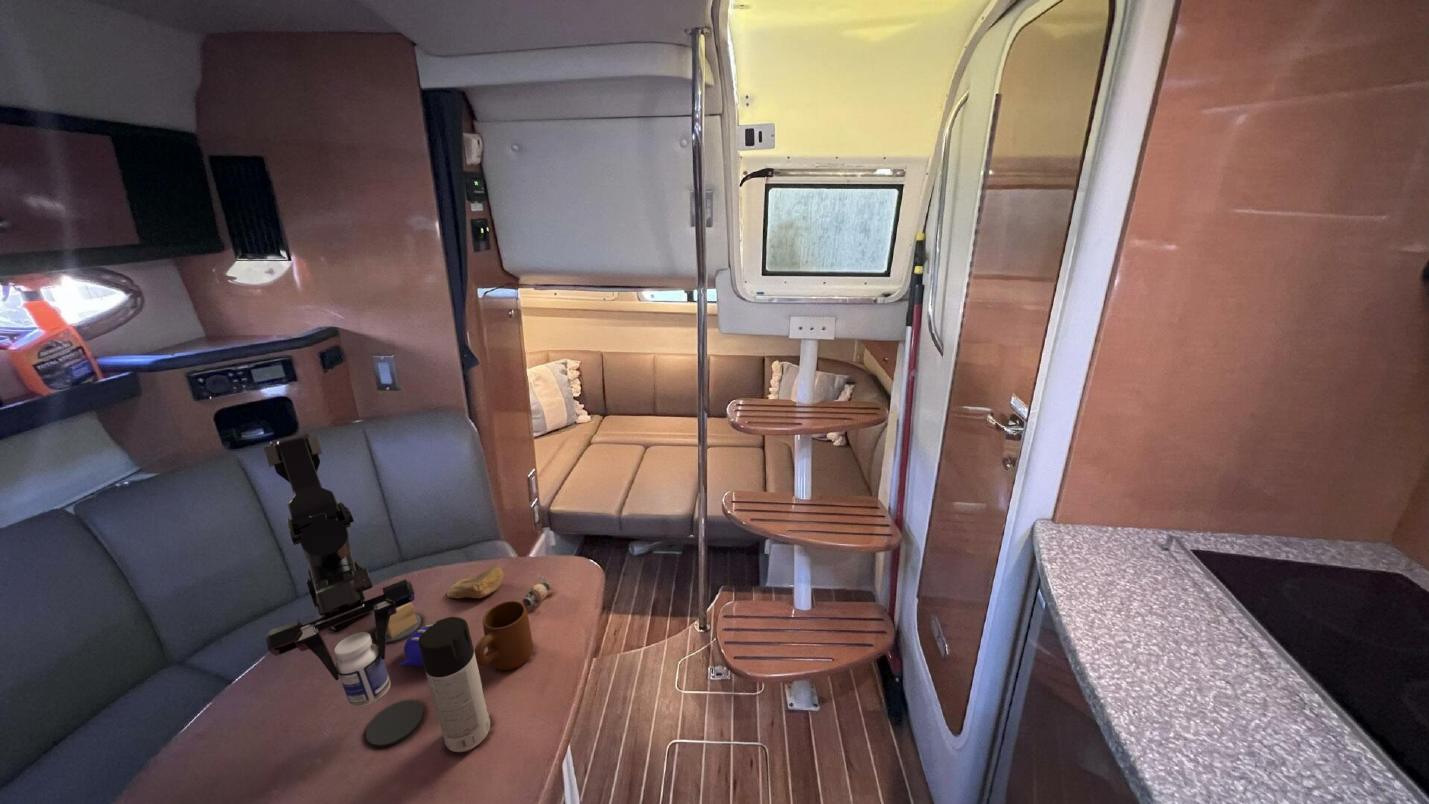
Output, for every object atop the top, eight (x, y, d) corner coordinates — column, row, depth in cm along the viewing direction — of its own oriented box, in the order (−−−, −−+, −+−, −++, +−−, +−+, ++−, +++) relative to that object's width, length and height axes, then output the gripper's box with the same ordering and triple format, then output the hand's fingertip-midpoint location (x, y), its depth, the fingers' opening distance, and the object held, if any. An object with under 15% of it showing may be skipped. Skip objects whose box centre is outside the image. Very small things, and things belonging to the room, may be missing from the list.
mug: (502, 696, 90) (493, 651, 87) (464, 687, 92) (454, 644, 89) (542, 644, 100) (534, 603, 98) (507, 637, 102) (499, 597, 99)
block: (378, 629, 105) (372, 608, 104) (404, 614, 109) (398, 593, 108) (391, 638, 103) (385, 617, 101) (417, 622, 107) (411, 602, 105)
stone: (470, 589, 109) (440, 589, 114) (480, 608, 111) (450, 607, 115) (502, 562, 117) (472, 562, 121) (511, 580, 118) (481, 580, 123)
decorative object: (383, 638, 94) (433, 609, 103) (385, 667, 95) (435, 635, 104) (424, 657, 90) (472, 625, 99) (426, 687, 91) (474, 652, 100)
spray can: (500, 722, 85) (478, 619, 79) (469, 760, 79) (442, 653, 72) (467, 711, 87) (443, 611, 81) (434, 748, 81) (405, 642, 75)
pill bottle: (386, 673, 87) (369, 623, 84) (395, 692, 83) (378, 640, 80) (345, 695, 84) (326, 644, 81) (353, 716, 80) (333, 662, 77)
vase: (539, 574, 109) (516, 598, 107) (558, 591, 110) (536, 616, 108) (537, 572, 114) (516, 594, 112) (556, 588, 115) (535, 611, 113)
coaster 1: (367, 633, 105) (367, 631, 105) (407, 609, 111) (407, 607, 111) (388, 648, 101) (388, 646, 101) (429, 622, 107) (428, 620, 107)
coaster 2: (356, 731, 84) (356, 729, 84) (407, 695, 90) (406, 693, 90) (382, 756, 80) (381, 754, 80) (433, 716, 86) (432, 714, 86)
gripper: (247, 586, 73) (271, 699, 69) (398, 536, 84) (428, 630, 80) (264, 604, 82) (287, 705, 77) (400, 556, 93) (427, 642, 88)
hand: (360, 669), depth 80 cm, fingers closed on pill bottle, 5 cm apart
